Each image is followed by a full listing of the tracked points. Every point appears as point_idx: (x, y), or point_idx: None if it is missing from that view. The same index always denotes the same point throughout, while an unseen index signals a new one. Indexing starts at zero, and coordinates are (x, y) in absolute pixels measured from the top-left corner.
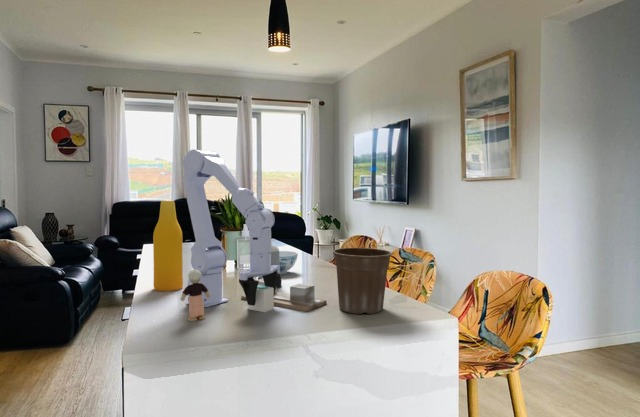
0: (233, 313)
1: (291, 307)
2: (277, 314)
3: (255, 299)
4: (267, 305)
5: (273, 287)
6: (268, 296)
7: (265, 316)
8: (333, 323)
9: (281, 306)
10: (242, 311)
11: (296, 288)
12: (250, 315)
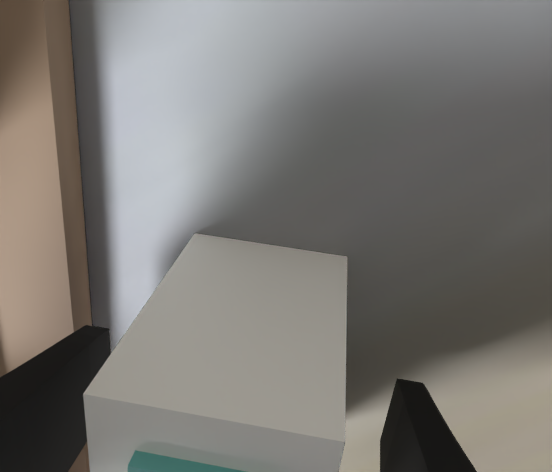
0: (498, 459)
1: (65, 62)
2: (360, 80)
3: (414, 420)
4: (285, 277)
5: (8, 422)
6: (246, 338)
7: (494, 161)
8: None
9: (81, 204)
10: None
11: None
12: (511, 313)
